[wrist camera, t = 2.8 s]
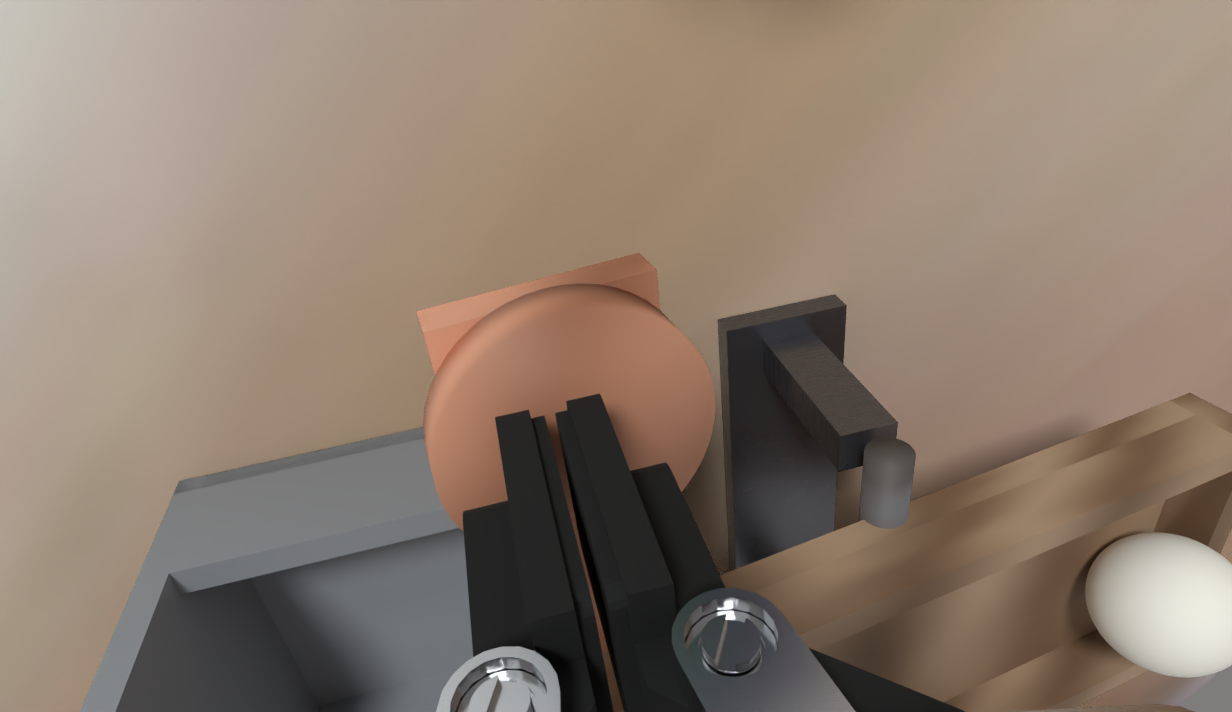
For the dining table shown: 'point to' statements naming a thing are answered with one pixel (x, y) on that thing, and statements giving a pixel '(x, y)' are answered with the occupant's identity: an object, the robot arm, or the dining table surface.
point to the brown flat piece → (888, 521)
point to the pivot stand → (789, 424)
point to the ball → (1164, 603)
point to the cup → (297, 591)
